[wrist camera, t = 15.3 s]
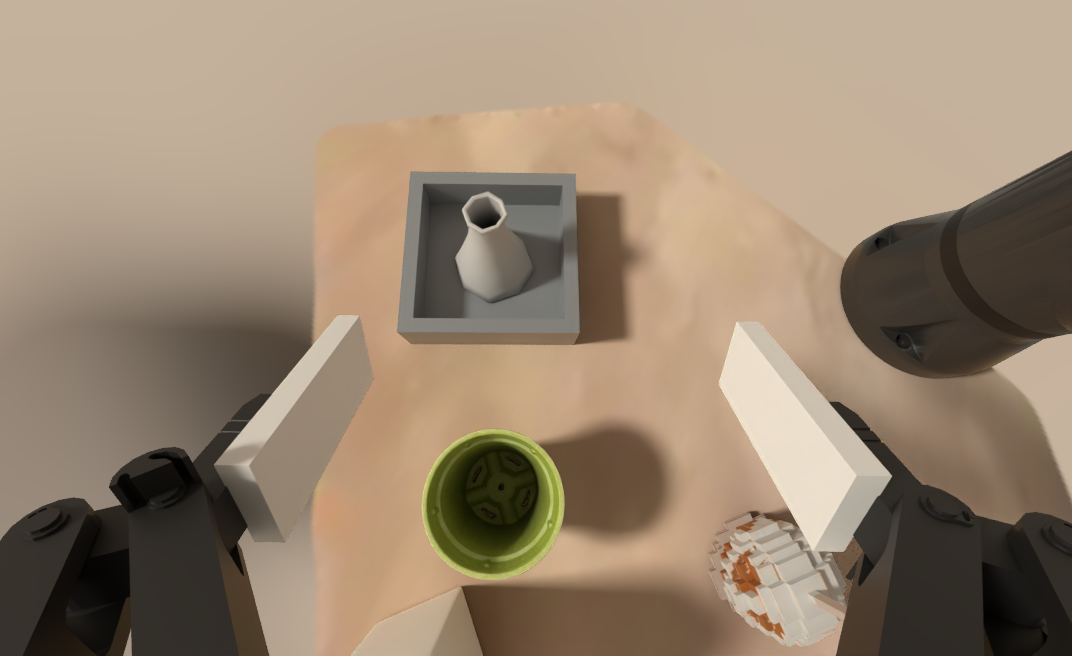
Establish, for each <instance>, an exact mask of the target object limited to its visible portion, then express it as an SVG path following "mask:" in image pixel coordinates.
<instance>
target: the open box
mask: <svg viewBox="0 0 1072 656" xmlns="http://www.w3.org/2000/svg"><path fill="white" fill-rule="evenodd" d="M487 191H489V192H490V193H492V194H494V195H496V196H497V197H499V198H501V199H502V200H503V202H504V205H505V207H506V210H507V212H508V215H509V216H508V218H507V220H506V221H505V225H506V226H507V227H508V228H509V229H510V230H511V231H512V232H513V233H514V234H515V235H516V236H518V237H519V238H520V239H521V240H522V241H523V242H524V243H525V245H526V247H527V250H528V252H529V255H530V257H531V260H532V263H533V265H534V268H535V270H534V271H533V273H532V274H531V276H530V277H529V279H528V280H527V282H526V283H525V284H524V286H523V287H522V289H521V290H520V292H519V293H518V294H515V295H512V296H509V297H506V298H503V299H500V300H497V301H495V302H492V303H488V302H486V301H484V300H483V299H481V298H480V297H478V296H476V295H475V294H473V293H472V292H470V291H468V290H467V289H465V288H464V287H463V285H462V282H461V279H460V276H459V273H458V271H457V268H456V265H455V262H454V259H455V257H456V255H457V254H458V252H459V250H460V249H461V247H462V245H463V243H464V241H465V239H466V237H467V235H468V231H469V227H468V226H467V223H466V220H465V218H464V215H463V212H462V208H463V207H464V206H465V205H466V203H467V202H468V201H469V199H470V198H471V197H472V196H475V195H478V194H481V193H484V192H487ZM397 332H398V333H399V334H400V335H401V336H402V337H404V338H405V339H406V340H407V341H408V342H410V343H411V344H537V345H574V343H575V341H576V339H577V337H578V335H579V333H580V327H579V289H578V250H577V212H576V174H548V173H476V172H410V184H409V196H408V208H407V220H406V232H405V244H404V256H403V268H402V280H401V292H400V304H399V316H398V328H397Z"/></svg>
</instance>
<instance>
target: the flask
mask: <svg viewBox="0 0 1072 656" xmlns="http://www.w3.org/2000/svg"><path fill="white" fill-rule="evenodd" d="M462 212H463V215H464V218H465V220H466V223H467V226H468V227H469V231H468V235H467V237H466V239H465V241H464V243H463V245H462V247H461V249H460V250H459V252H458V254H457V255H456V257H455V259H454V262H455V265H456V268H457V271H458V273H459V276H460V279H461V282H462V285H463V287H464V288H465V289H467V290H468V291H470V292H472V293H473V294H475V295H476V296H478V297H480V298H481V299H483V300H484V301H486V302H488V303H492V302H495V301H497V300H500V299H503V298H506V297H509V296H512V295H515V294H518V293H519V292H520V290H521V289H522V287H523V286H524V284H525V283H526V282H527V280H528V279H529V277H530V276H531V274H532V273H533V271H534V270H535V268H534V265H533V263H532V260H531V257H530V255H529V252H528V250H527V247H526V245H525V243H524V242H523V241H522V240H521V239H520V238H519V237H518V236H516V235H515V234H514V233H513V232H512V231H511V230H510V229H509V228H508V227H507V226H506V225H505V221H506V220H507V218H508V216H509V215H508V212H507V210H506V207H505V205H504V202H503V200H502V199H501V198H499V197H497V196H496V195H494V194H492V193H490V192H489V191H487V192H484V193H481V194H478V195H475V196H472V197H471V198H470V199H469V201H468V202H467V203H466V205H465V206H464V207H463V208H462Z"/></svg>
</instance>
